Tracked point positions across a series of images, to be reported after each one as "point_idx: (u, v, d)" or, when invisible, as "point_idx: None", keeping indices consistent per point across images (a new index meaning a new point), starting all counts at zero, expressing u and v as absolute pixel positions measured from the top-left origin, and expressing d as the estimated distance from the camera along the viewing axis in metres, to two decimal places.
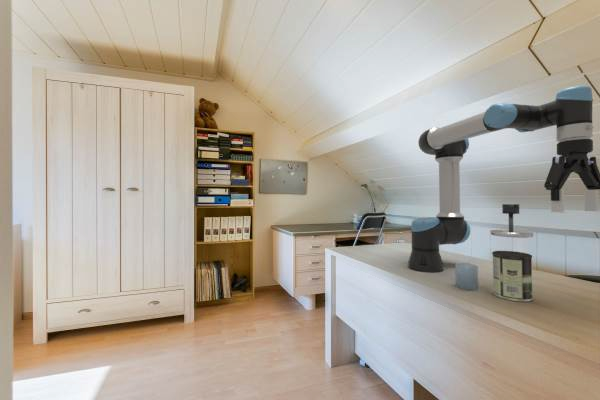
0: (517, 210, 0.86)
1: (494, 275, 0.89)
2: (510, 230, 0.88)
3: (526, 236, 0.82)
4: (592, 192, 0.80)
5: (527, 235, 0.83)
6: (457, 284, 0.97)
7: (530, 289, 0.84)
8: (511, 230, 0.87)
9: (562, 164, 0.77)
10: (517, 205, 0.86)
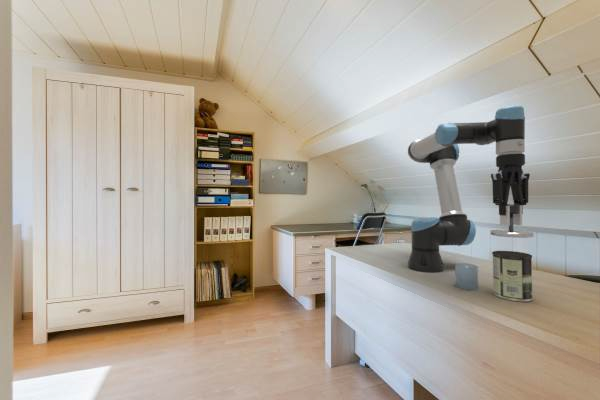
0: (517, 210, 0.86)
1: (494, 275, 0.89)
2: (510, 230, 0.88)
3: (526, 236, 0.82)
4: None
5: (527, 235, 0.83)
6: (457, 284, 0.97)
7: (530, 289, 0.84)
8: (511, 230, 0.87)
9: (500, 180, 0.86)
10: (517, 205, 0.86)
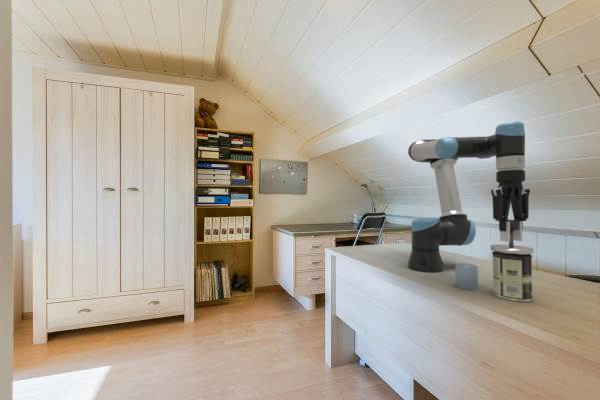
0: (517, 226, 0.86)
1: (494, 275, 0.89)
2: (510, 246, 0.88)
3: (526, 253, 0.83)
4: None
5: (527, 252, 0.83)
6: (457, 284, 0.97)
7: (530, 289, 0.84)
8: (511, 246, 0.87)
9: (501, 196, 0.86)
10: (517, 221, 0.86)
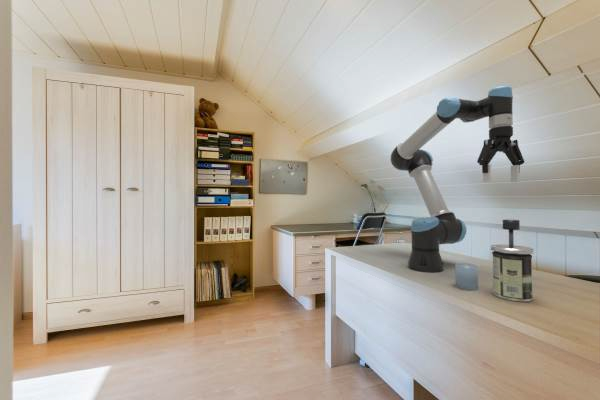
0: (517, 226, 0.86)
1: (494, 275, 0.89)
2: (510, 246, 0.88)
3: (526, 253, 0.83)
4: (515, 167, 1.05)
5: (527, 252, 0.83)
6: (457, 284, 0.97)
7: (530, 289, 0.84)
8: (511, 246, 0.87)
9: (490, 145, 1.02)
10: (517, 221, 0.86)
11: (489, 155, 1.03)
